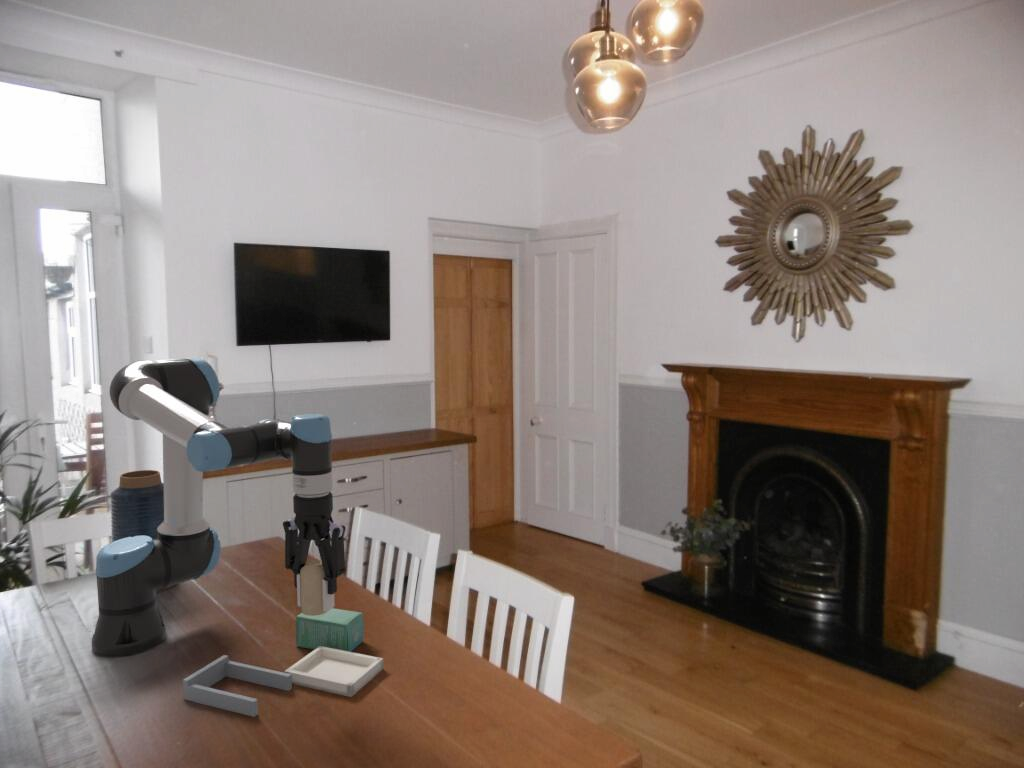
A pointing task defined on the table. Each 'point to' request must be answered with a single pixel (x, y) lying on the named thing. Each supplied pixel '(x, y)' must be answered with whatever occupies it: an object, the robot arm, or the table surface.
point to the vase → (137, 506)
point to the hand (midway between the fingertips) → (316, 606)
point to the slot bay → (217, 670)
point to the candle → (312, 588)
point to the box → (330, 630)
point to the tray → (335, 670)
